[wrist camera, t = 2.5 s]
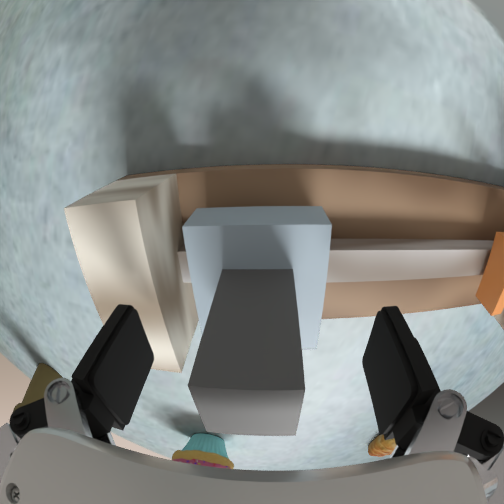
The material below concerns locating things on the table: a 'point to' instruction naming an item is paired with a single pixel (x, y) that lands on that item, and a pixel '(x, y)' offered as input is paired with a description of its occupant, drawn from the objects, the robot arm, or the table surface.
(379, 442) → the pastry
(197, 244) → the carriage
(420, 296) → the rail bench
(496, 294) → the button
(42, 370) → the cork
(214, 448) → the cupcake
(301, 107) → the table surface
